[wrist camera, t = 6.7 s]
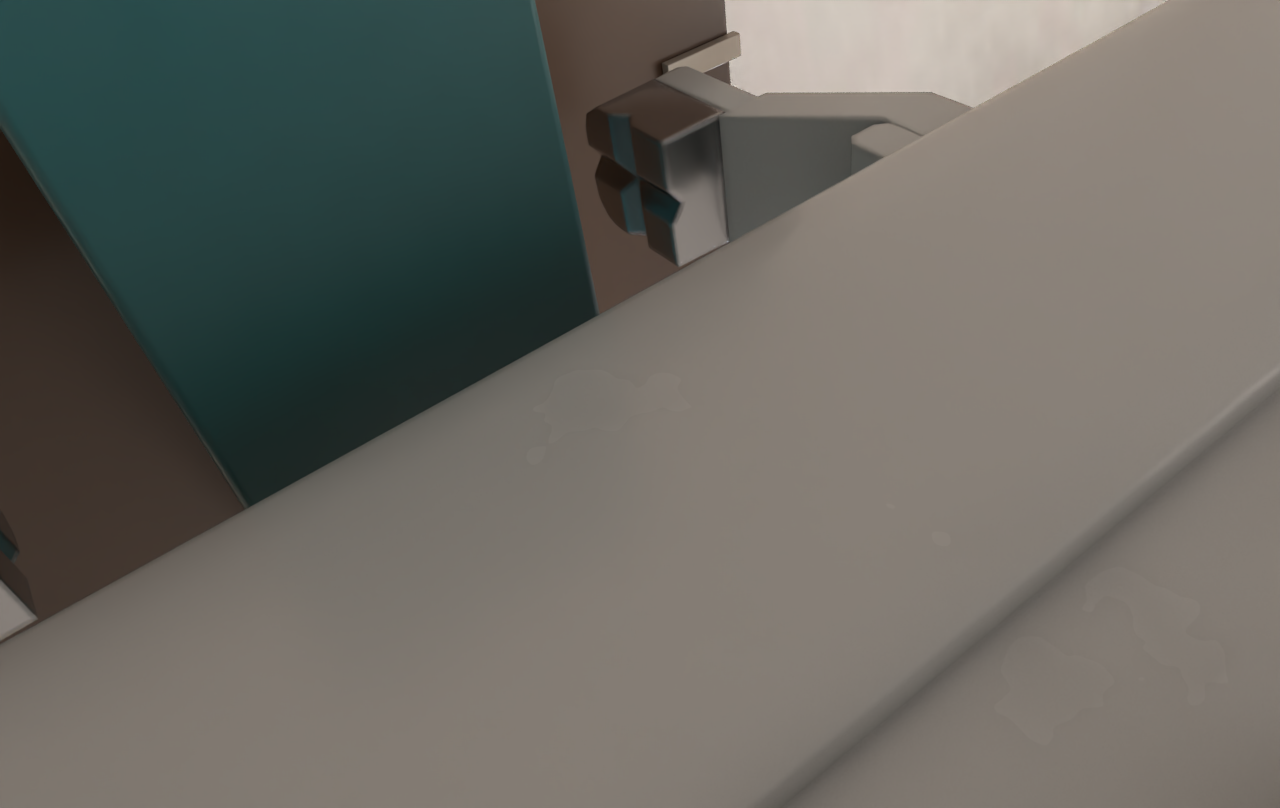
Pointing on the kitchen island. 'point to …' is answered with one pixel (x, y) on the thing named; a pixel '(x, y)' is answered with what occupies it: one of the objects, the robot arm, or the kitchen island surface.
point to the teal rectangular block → (304, 203)
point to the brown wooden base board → (136, 396)
